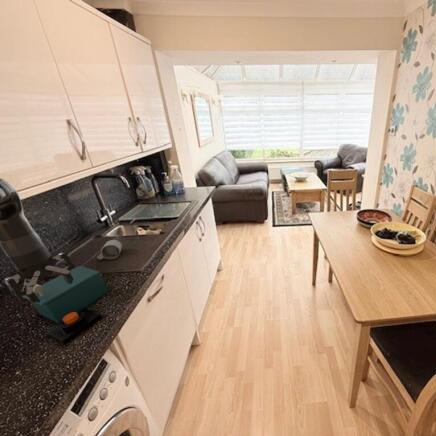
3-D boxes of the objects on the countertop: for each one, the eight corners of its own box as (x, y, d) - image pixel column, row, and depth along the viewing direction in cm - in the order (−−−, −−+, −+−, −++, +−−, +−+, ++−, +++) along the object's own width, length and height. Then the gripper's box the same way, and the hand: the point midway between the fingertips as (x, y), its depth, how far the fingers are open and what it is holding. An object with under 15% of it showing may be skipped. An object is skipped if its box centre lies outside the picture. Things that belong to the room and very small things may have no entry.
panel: (65, 344, 74) (59, 337, 72) (49, 336, 77) (43, 328, 76) (101, 317, 83) (97, 310, 82) (86, 311, 86) (81, 304, 85)
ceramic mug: (124, 248, 125) (118, 236, 122) (122, 256, 118) (116, 243, 115) (100, 255, 121) (93, 242, 118) (97, 263, 114) (90, 250, 111)
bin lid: (42, 306, 77) (34, 293, 75) (22, 296, 82) (14, 285, 80) (100, 273, 92) (94, 262, 89) (80, 267, 96) (74, 256, 94)
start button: (69, 325, 77) (66, 322, 76) (62, 322, 78) (60, 319, 77) (81, 317, 80) (79, 313, 79) (75, 314, 81) (72, 310, 80)
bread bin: (59, 324, 82) (46, 304, 78) (40, 314, 86) (26, 295, 83) (109, 291, 96) (100, 273, 92) (89, 284, 100) (80, 267, 96)
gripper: (48, 234, 74) (73, 275, 82) (-17, 260, 63) (18, 305, 70) (62, 237, 72) (86, 279, 79) (-4, 265, 60) (31, 312, 67)
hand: (54, 292), depth 74 cm, fingers open, 8 cm apart
